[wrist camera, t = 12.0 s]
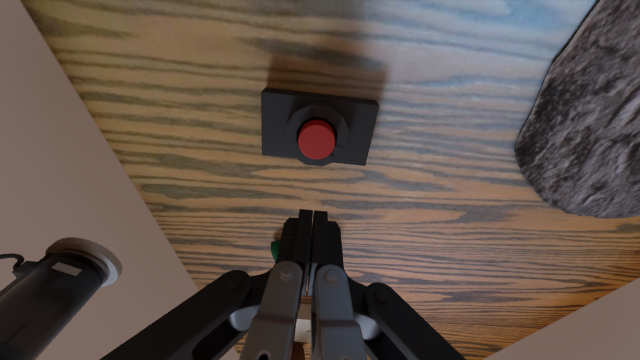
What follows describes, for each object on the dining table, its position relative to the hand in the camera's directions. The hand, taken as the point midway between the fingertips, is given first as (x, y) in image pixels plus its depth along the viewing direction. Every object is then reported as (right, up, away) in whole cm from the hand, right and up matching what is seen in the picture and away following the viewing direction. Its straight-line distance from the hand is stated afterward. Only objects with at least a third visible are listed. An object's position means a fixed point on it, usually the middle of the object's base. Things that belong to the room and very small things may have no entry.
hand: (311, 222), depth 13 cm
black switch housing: (0, +9, +15) cm, 17 cm away
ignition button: (0, +7, +11) cm, 13 cm away
